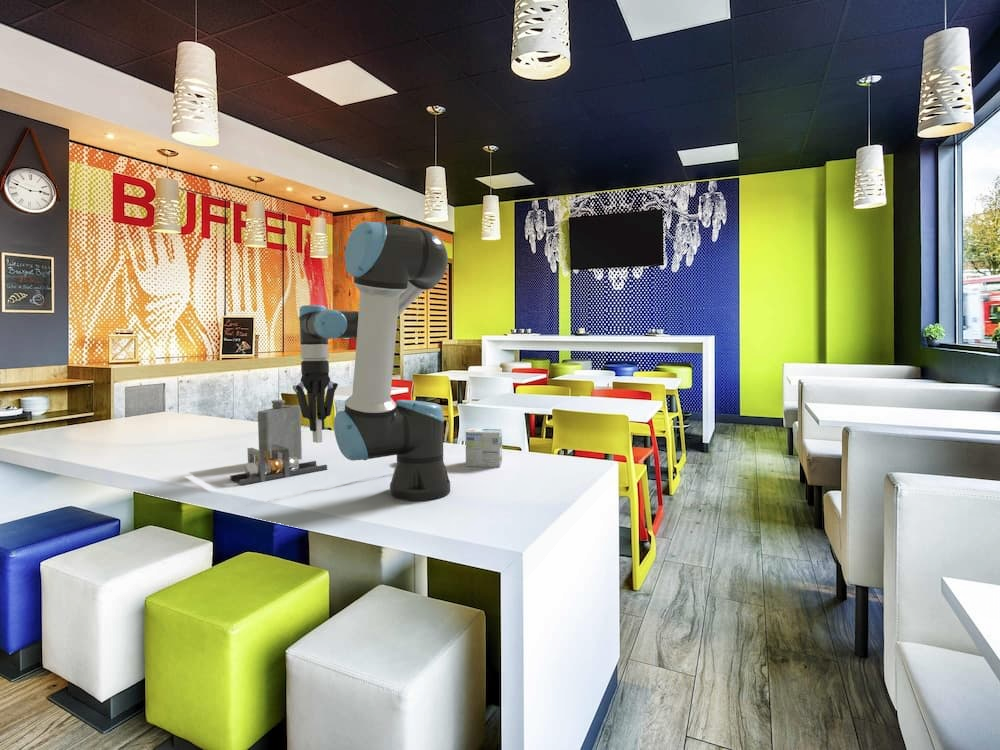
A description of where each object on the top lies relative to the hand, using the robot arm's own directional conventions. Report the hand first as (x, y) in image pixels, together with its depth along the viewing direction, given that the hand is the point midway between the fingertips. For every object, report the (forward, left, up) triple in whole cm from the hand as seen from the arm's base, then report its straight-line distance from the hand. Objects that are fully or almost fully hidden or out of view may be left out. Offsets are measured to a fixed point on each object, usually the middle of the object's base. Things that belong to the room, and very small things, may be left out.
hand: (317, 441), depth 161 cm
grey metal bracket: (+1, +14, -8) cm, 16 cm away
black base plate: (+1, +11, -9) cm, 14 cm away
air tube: (+1, +13, -8) cm, 15 cm away
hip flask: (+14, +5, -9) cm, 17 cm away
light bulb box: (-27, -40, -9) cm, 49 cm away
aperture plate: (+5, +14, -9) cm, 17 cm away
